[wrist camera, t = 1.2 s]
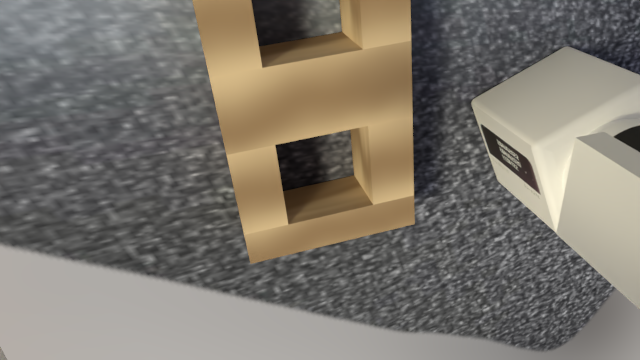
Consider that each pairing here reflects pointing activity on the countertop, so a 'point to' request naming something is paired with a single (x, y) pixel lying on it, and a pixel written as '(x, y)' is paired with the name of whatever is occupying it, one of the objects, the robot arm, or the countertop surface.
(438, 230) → the countertop surface
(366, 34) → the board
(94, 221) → the countertop surface
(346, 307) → the countertop surface
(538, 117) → the container
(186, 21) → the countertop surface
